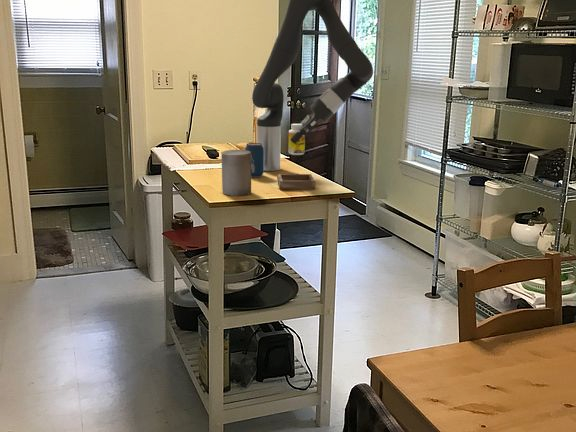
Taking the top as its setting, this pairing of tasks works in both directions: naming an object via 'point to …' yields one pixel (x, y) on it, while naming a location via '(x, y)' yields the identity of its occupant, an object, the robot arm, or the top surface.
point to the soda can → (256, 159)
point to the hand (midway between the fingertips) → (291, 140)
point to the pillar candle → (236, 172)
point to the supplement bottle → (299, 145)
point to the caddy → (296, 182)
